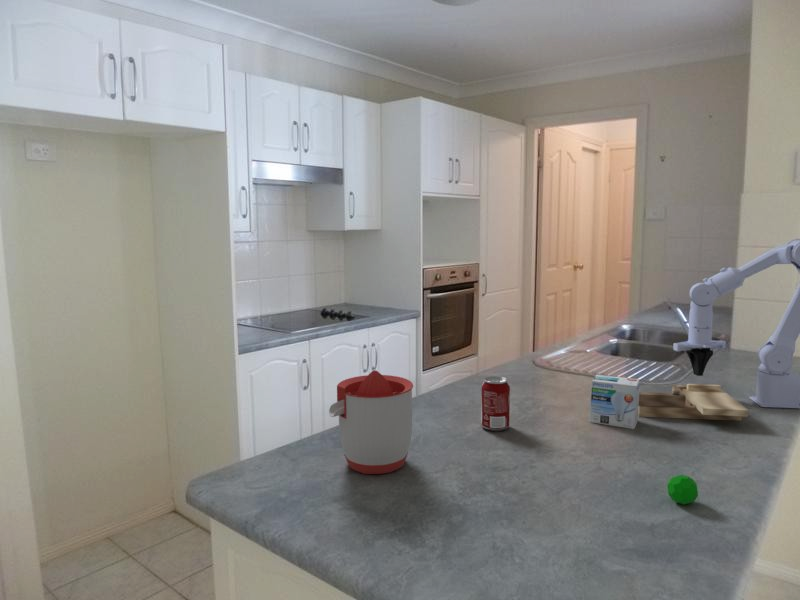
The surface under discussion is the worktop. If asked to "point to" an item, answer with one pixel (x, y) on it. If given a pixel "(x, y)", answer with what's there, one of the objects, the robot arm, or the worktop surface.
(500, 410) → the soda can
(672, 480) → the polyhedron
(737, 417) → the brown piece
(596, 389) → the light bulb box
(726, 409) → the lid
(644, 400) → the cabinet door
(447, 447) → the worktop surface
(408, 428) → the citrus juicer
